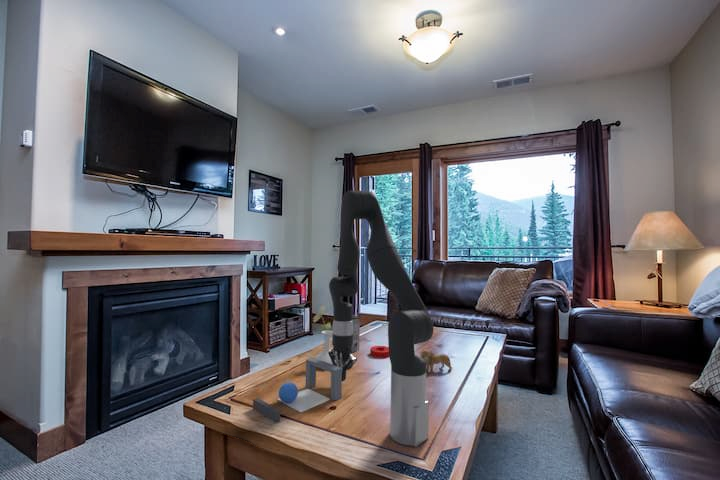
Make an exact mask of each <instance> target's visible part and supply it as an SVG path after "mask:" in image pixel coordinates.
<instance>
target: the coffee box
mask: <svg viewBox="0 0 720 480" xmlns="http://www.w3.org/2000/svg"><path fill="white" fill-rule="evenodd" d="M360 332H361V317H359V316H357V315H355V314H353V345H352V347H351V349H352V353H354V352H359V351H360V336H361V335H360Z"/></svg>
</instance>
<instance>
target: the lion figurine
mask: <svg viewBox="0 0 720 480" xmlns="http://www.w3.org/2000/svg"><path fill="white" fill-rule="evenodd" d="M419 357H422V358H423V359H424V360H425V361H426V372H429V373H430V374H433V372H434V366H435V365H439V364H441V367H439V368H438V369H439V370H443V369H444V367H445V366H446V367H447V368H449V369H448V370H447V372H449V373H451V372H452V369H453V367H452V366H451V365H452V364H451V359H450V357H449V355H448V354H445V353H440V354H434V353H433V352H431V351H429V350H427V349H422V350H421V352H420V356H419Z"/></svg>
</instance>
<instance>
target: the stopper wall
mask: <svg viewBox="0 0 720 480" xmlns="http://www.w3.org/2000/svg"><path fill="white" fill-rule="evenodd" d="M252 409H253V410H254V409H255V410H256V411H255V410H254V411H255V412H257V413H258V412H259V413H258V414H259V415H261V414H262V415H261V416H263V415H264V416H263V417H265V418H266V417H267V418H266V419H268V418H269V419H270V420H269V419H268V420H269V421H271V420H272V421H273V422H272V421H271V422H272V423H274V422H275V423H274V424H277V423H276V422H278V423H280V422H281V410H280V409H278V408H277V407H276V406H275V407H274V405H271V404H270V403H268V402H267V401H265V400H263V399H261V398H259V397H255V398H253V400H252ZM279 421H280V422H279Z"/></svg>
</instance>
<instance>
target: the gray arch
mask: <svg viewBox="0 0 720 480" xmlns="http://www.w3.org/2000/svg"><path fill="white" fill-rule="evenodd" d="M317 368H318V369H320V370H321V369H322V370H323V371H326V372H329V373H330V400H332V401H334V402H335V401H337V400H339V399H342V390H343V389H342V388H343V386H342V385H343V381H342V368H340V367H338V366H335V365H332V364H329V363H327V362H324V361H321V360H318V359H316V358H315V357H310V358H306V360H305V385H304V386H305V389H306V388H308V389H310V390H311V389H312V388H315V387H316V386H317V384H316V383H317V382H316V381H317Z"/></svg>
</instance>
